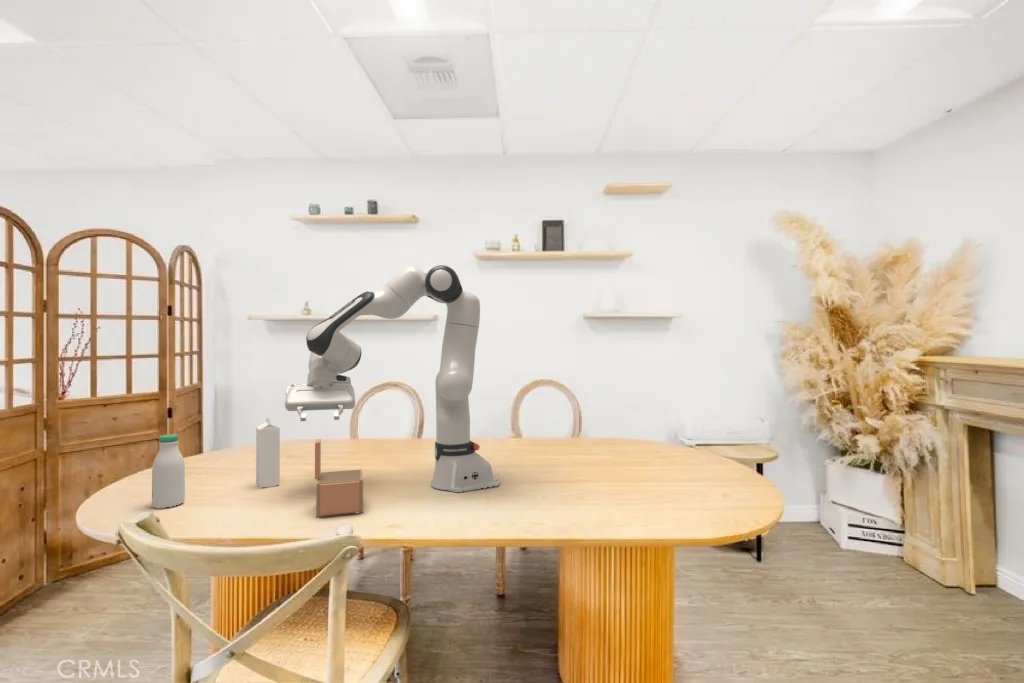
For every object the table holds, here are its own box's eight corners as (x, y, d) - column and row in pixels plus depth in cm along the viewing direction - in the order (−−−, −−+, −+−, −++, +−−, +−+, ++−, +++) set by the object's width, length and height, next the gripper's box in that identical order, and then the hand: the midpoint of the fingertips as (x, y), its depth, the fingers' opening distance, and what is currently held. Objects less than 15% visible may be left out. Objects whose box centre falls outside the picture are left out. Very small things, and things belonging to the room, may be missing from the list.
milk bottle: (191, 502, 144) (191, 433, 144) (164, 510, 137) (165, 438, 137) (172, 499, 147) (172, 432, 147) (145, 507, 139) (145, 436, 140)
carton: (361, 499, 147) (362, 469, 147) (363, 513, 135) (363, 480, 135) (318, 503, 143) (318, 472, 143) (315, 518, 131) (316, 484, 131)
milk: (259, 489, 158) (259, 420, 157) (255, 484, 162) (255, 417, 162) (280, 485, 161) (279, 418, 161) (276, 481, 166) (275, 416, 166)
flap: (320, 474, 140) (320, 439, 140) (319, 479, 135) (319, 442, 136) (316, 474, 140) (316, 439, 140) (314, 479, 135) (314, 442, 135)
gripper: (285, 378, 152) (281, 414, 143) (355, 377, 158) (355, 411, 149) (287, 391, 156) (283, 427, 147) (355, 389, 163) (355, 424, 153)
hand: (320, 419), depth 148 cm, fingers open, 8 cm apart
